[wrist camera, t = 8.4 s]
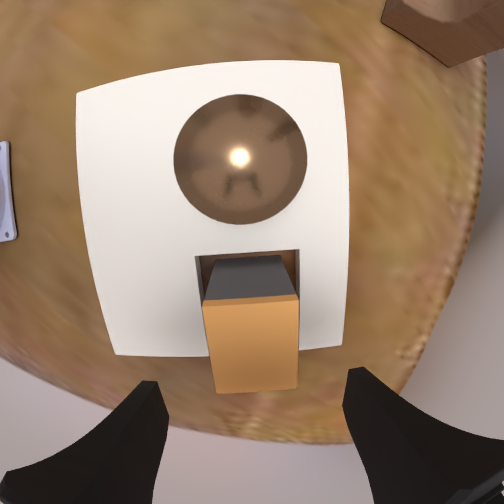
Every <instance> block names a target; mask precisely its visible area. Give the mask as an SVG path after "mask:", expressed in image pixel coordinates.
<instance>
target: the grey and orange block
mask: <svg viewBox="0 0 504 504" xmlns="http://www.w3.org/2000/svg"><path fill="white" fill-rule="evenodd" d="M202 310H203V317H204V323H205V330H206V336H207V342H208V348H209V354H210V359H211V365H212V371H213V376H214V381H215V387H216V392H217V394H222V393H247V392H262V391H275V390H285V389H295V388H297V375H298V333H299V299H298V297H297V295H296V292H295V290H294V287H293V285H292V283H291V280H290V278H289V275H288V273H287V271H286V268H285V266H284V264H283V261H282V259H281V256H280V255H272V256H258V257H243V258H229V259H216V261H215V264H214V267H213V271H212V274H211V277H210V281H209V284H208V288H207V291H206V294H205V298H204V301H203V305H202Z"/></svg>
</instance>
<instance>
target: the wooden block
mask: <svg viewBox="0 0 504 504" xmlns="http://www.w3.org/2000/svg"><path fill="white" fill-rule="evenodd" d="M381 22H382V23H384V24H385V25H387V26H389V27H391V28H392V29H394V30H396V31H398V32H399V33H401V34H402V35H404V36H406V37H407V38H409V39H410V40H412V41H413V42H415V43H416V44H418V45H419V46H421V47H422V48H423V49H425V50H426V51H428V52H429V53H430V54H432V55H433V56H434V57H436V58H437V59H438V60H440V61H441V62H442V63H443V64H445V65H446V66H447V67H452V66H455V65H457V64H460V63H462V62H465V61H468V60H470V59H473V58H476V57H479V56H481V55H484V54H487V53H490V52H493V51H496V50H499V49H502V48H504V0H387V2H386V5H385V8H384V12H383V15H382V19H381Z"/></svg>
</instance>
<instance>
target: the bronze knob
mask: <svg viewBox="0 0 504 504" xmlns="http://www.w3.org/2000/svg"><path fill="white" fill-rule="evenodd" d="M173 165H174V173H175V176H176V180H177V183H178V185H179V187H180V189H181V191H182V193H183V194H184V196H185V197H186V199H187V200H188V201H189V202H190V204H191V205H192V206H194V207H195V208H196V209H197V210H198V211H200V212H201V213H202V214H204V215H206V216H207V217H209V218H211V219H214V220H216V221H219V222H222V223H226V224H234V225H246V224H254V223H257V222H261V221H264V220H266V219H269V218H271V217H273V216H274V215H276V214H278V213H279V212H280V211H282V210H283V209H284V208H285V207H287V206H288V205H289V204H290V203H291V201H292V200H293V199H294V198H295V196H296V195H297V193H298V192H299V190H300V188H301V186H302V184H303V181H304V178H305V175H306V170H307V148H306V144H305V140H304V137H303V135H302V132H301V130H300V128H299V127H298V125H297V123H296V122H295V121H294V119H293V118H292V117H291V116H290V115H289V114H288V113H287V112H286V111H285V110H284V109H283V108H281V107H280V106H279V105H277V104H275V103H273V102H272V101H270V100H267V99H265V98H262V97H258V96H254V95H247V94H234V95H227V96H223V97H220V98H217V99H214V100H212V101H210V102H208V103H206V104H205V105H203V106H202V107H200V108H199V109H198V110H196V111H195V112H194V113H193V114H192V115H191V116H190V117H189V118H188V120H187V121H186V122H185V124H184V125H183V127H182V129H181V130H180V132H179V135H178V137H177V140H176V144H175V147H174V155H173Z"/></svg>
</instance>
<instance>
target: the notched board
mask: <svg viewBox="0 0 504 504" xmlns="http://www.w3.org/2000/svg"><path fill="white" fill-rule="evenodd" d="M234 94H247V95H254V96H258V97H262V98H265V99H267V100H270V101H272V102H273V103H275V104H277V105H279V106H280V107H281V108H283V109H284V110H285V111H286V112H287V113H288V114H289V115H290V116H291V117H292V118H293V119H294V121H295V122H296V123H297V125H298V127H299V128H300V130H301V132H302V135H303V137H304V140H305V144H306V148H307V170H306V175H305V178H304V181H303V184H302V186H301V188H300V190H299V192H298V193H297V195H296V196H295V198H294V199H293V200H292V201H291V203H290V204H289V205H288V206H287V207H285V208H284V209H283V210H282V211H280V212H279V213H278V214H276V215H274V216H273V217H271V218H269V219H266V220H264V221H261V222H257V223H254V224H246V225H234V224H226V223H222V222H219V221H216V220H214V219H211V218H209V217H207V216H206V215H204V214H202V213H201V212H200V211H198V210H197V209H196V208H195V207H194V206H192V205H191V204H190V202H189V201H188V200H187V199H186V197H185V196H184V194H183V193H182V191H181V189H180V187H179V185H178V183H177V180H176V176H175V173H174V165H173V155H174V147H175V144H176V140H177V137H178V135H179V132H180V130H181V129H182V127H183V125H184V124H185V122H186V121H187V120H188V118H189V117H190V116H191V115H192V114H193V113H194V112H195V111H196V110H198V109H199V108H200V107H202V106H203V105H205V104H206V103H208V102H210V101H212V100H214V99H217V98H220V97H223V96H227V95H234ZM76 149H77V168H78V181H79V191H80V200H81V209H82V216H83V223H84V230H85V236H86V242H87V247H88V253H89V258H90V263H91V268H92V272H93V277H94V281H95V285H96V290H97V294H98V298H99V301H100V305H101V309H102V313H103V316H104V320H105V323H106V326H107V330H108V333H109V336H110V339H111V342H112V345H113V348H114V351H115V354H116V355H131V356H161V357H202V356H209V348H208V342H207V336H206V330H205V323H204V317H203V310H202V305H203V301H204V291H203V284H202V276H201V267H200V259H199V256H200V255H216V254H231V253H246V252H261V251H276V250H292V249H295V267H296V295H297V297H298V299H299V333H298V349H299V350H307V349H316V348H324V347H331V346H338V345H342V337H343V328H344V317H345V305H346V291H347V274H348V250H349V176H348V153H347V136H346V123H345V111H344V101H343V91H342V83H341V75H340V67H339V63H328V62H314V61H288V60H265V61H239V62H225V63H214V64H205V65H196V66H189V67H182V68H176V69H170V70H164V71H159V72H154V73H149V74H144V75H140V76H135V77H131V78H127V79H123V80H119V81H115V82H111V83H108V84H104V85H101V86H98V87H94V88H91V89H88V90H85V91H82V92H79V93H77V97H76Z"/></svg>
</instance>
